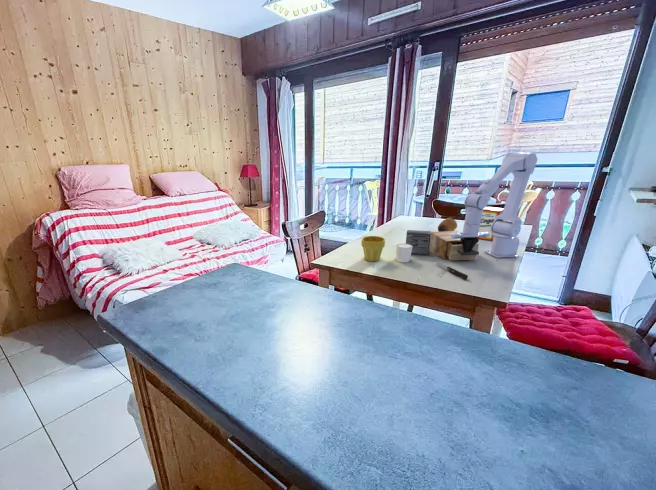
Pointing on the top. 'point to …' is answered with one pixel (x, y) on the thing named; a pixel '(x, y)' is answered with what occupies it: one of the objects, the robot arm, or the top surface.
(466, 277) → the kitchen knife
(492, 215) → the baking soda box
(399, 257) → the white tapered cylinder
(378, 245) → the flower pot
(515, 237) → the robot arm
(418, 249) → the small box
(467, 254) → the drawer
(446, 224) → the potato
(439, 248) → the cabinet
